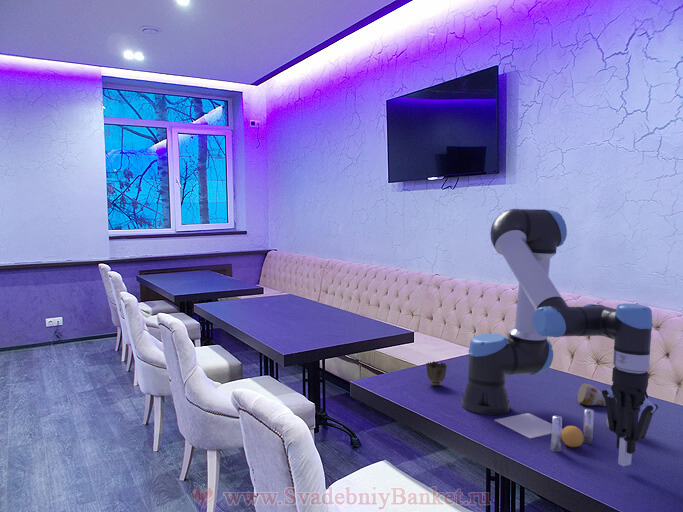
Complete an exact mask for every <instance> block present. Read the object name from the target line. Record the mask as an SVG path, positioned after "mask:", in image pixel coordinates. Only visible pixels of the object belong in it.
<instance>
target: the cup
mask: <svg viewBox="0 0 683 512" xmlns="http://www.w3.org/2000/svg"><path fill="white" fill-rule="evenodd" d="M425 364H426V376H427V378H428V380H429V381H430V384H431V386H433V387H440V386H441V385H442V383H441V382H443V381H444V379H445V378H446V372H447V368H448V367H447V363H445V362H440V363H438V361H435V360H433V361H432V362H431V361H429V362H427V363H425Z"/></svg>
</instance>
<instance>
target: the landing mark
mask: <svg viewBox="0 0 683 512" xmlns="http://www.w3.org/2000/svg"><path fill="white" fill-rule="evenodd" d="M494 422H497V423H498V424H500V425H503V426H504V427H507V428H508V429H510V430H511V431H514V432H515V433H518V434H520V435H522V436H523V437H526V438H528V439H530V440H531V439H534V438H538V437H543V436H548V435H551V433H552V422H551V423H550V422H548V421H547V420H545V419H542V418H540V417H538V416H536V415H534V414H531V413H529V412H526V413H521V414H516V415H510V416H507V417H506V416H505V417H502V418H495V419H494ZM563 429H564V428H562V430H563Z"/></svg>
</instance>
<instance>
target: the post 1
mask: <svg viewBox="0 0 683 512" xmlns="http://www.w3.org/2000/svg"><path fill="white" fill-rule="evenodd" d="M551 419H552V420H551V424H552V433H551V434H550V436H551V437H550V439H551V440H550V451H552V452H554V453H561V450H562V449H561V446H562V437H561V433H562V429H563V417H562V416H560V415H552V417H551Z"/></svg>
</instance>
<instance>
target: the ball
mask: <svg viewBox="0 0 683 512" xmlns="http://www.w3.org/2000/svg"><path fill="white" fill-rule="evenodd" d="M562 429H563V430H562V432H561V441H562V442H563V443H564V444H565V445H566V446H568V447H570V448H578V447H580V446H581V445H582V444H583V443H584V442H583V439H584V437H583V430H581V429H580V428H579V427H577V426H575V425H566V426H565V427H564V428H562Z"/></svg>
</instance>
